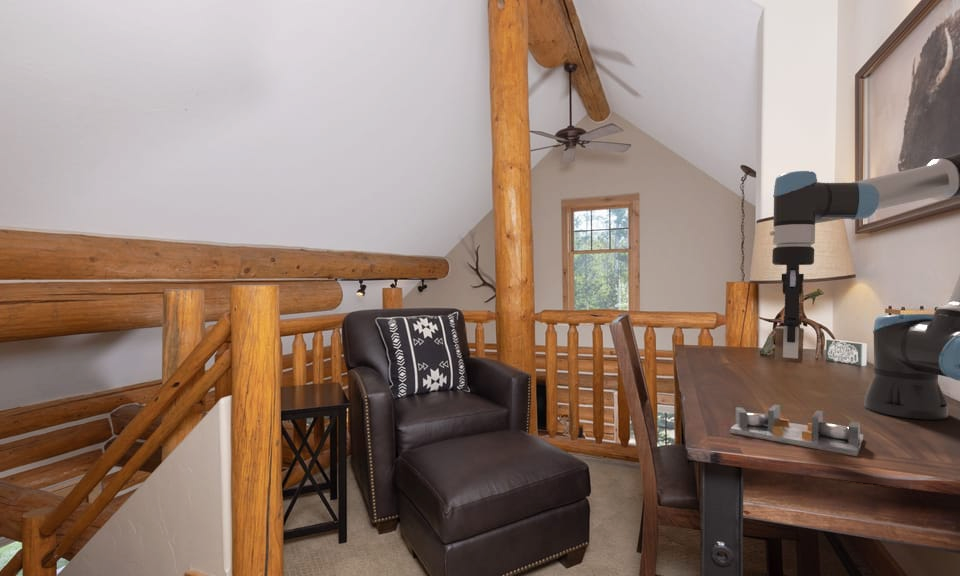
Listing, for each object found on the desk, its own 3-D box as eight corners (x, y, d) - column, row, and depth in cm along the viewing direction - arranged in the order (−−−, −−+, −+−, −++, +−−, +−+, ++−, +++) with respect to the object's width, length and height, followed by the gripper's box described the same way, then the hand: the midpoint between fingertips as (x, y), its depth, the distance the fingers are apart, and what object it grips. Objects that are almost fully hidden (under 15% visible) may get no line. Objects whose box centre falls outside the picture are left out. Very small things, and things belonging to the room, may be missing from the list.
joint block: (801, 360, 107) (803, 325, 107) (802, 363, 104) (803, 327, 103) (774, 358, 110) (776, 323, 109) (774, 360, 106) (775, 325, 106)
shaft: (766, 424, 106) (766, 409, 106) (771, 429, 102) (771, 414, 102) (735, 422, 108) (735, 407, 108) (739, 427, 104) (739, 412, 104)
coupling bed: (863, 439, 98) (863, 413, 98) (857, 456, 89) (857, 427, 89) (745, 420, 112) (745, 397, 112) (730, 432, 103) (730, 408, 103)
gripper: (773, 248, 115) (770, 349, 115) (771, 244, 100) (768, 359, 101) (812, 248, 111) (809, 352, 112) (816, 243, 96) (813, 363, 97)
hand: (790, 355), depth 106 cm, fingers closed on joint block, 4 cm apart
